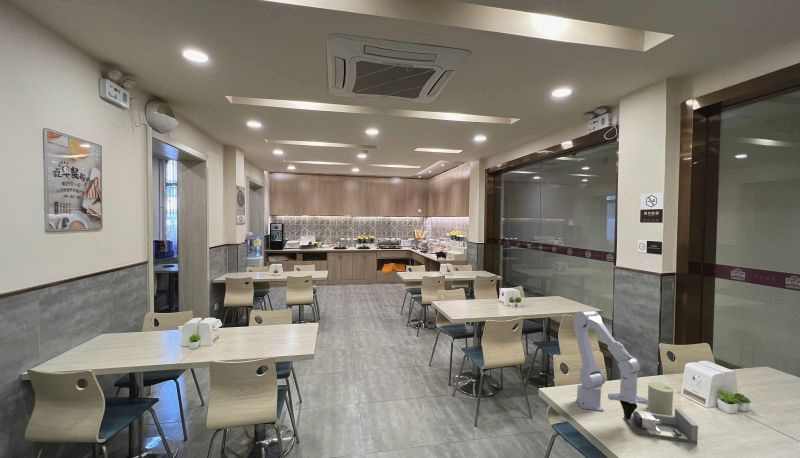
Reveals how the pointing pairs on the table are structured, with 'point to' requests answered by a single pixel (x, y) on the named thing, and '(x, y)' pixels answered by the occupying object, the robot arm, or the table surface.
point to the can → (660, 398)
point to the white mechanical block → (646, 420)
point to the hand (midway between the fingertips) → (627, 418)
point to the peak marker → (677, 432)
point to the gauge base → (669, 427)
